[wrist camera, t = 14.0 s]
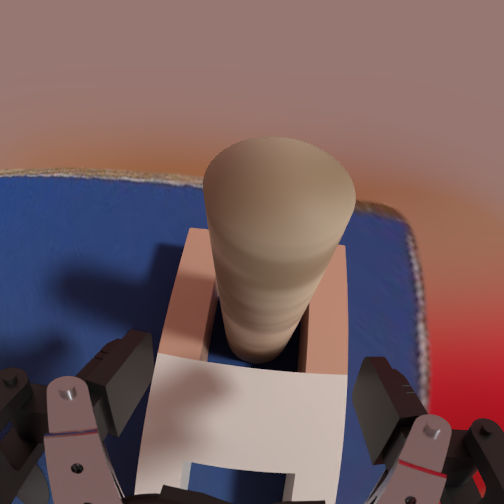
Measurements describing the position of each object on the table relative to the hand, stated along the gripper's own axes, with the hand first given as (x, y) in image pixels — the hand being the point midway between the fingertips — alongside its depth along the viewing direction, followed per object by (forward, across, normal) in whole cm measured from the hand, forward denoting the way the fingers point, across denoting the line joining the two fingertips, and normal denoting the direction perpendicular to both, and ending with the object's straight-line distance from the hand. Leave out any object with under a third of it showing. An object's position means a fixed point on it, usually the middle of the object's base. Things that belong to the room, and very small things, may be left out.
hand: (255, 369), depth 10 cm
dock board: (+5, 0, +8) cm, 9 cm away
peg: (+9, 0, +3) cm, 10 cm away
